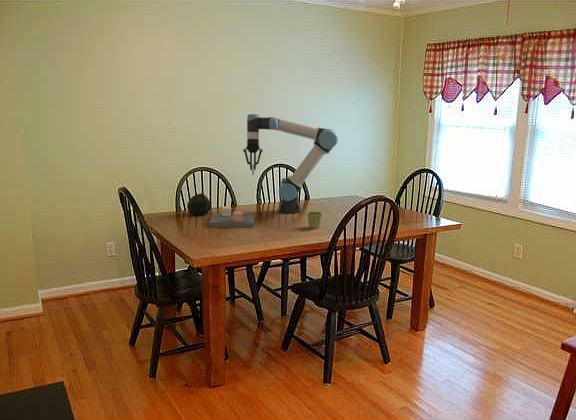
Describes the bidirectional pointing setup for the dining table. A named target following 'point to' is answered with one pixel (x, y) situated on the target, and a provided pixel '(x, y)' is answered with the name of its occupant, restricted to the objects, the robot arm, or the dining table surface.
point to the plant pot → (314, 219)
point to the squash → (199, 204)
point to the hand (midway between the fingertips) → (252, 174)
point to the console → (232, 221)
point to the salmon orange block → (237, 216)
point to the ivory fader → (226, 211)
